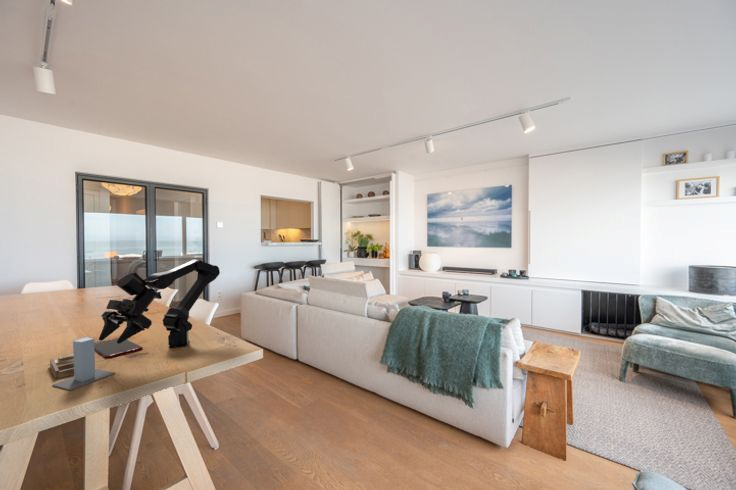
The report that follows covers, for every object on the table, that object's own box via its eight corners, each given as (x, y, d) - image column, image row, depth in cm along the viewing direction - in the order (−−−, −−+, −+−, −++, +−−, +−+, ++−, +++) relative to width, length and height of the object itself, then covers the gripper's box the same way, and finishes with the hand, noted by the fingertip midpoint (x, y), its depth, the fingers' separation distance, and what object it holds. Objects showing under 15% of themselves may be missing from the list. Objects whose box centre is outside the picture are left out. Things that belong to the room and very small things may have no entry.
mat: (97, 369, 106) (97, 368, 106) (114, 373, 103) (114, 372, 103) (52, 385, 95) (52, 384, 95) (70, 390, 92) (70, 389, 92)
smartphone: (122, 336, 140) (144, 346, 125) (122, 339, 140) (144, 350, 126) (86, 344, 130) (105, 356, 116) (86, 347, 130) (105, 360, 116)
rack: (76, 360, 114) (76, 353, 114) (84, 371, 105) (83, 364, 105) (50, 366, 109) (50, 359, 109) (55, 378, 100) (55, 371, 100)
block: (87, 375, 101) (86, 337, 101) (95, 376, 100) (94, 338, 100) (74, 379, 98) (73, 340, 98) (82, 381, 97) (81, 342, 96)
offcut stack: (77, 361, 114) (76, 352, 114) (79, 364, 111) (78, 354, 111) (54, 366, 109) (53, 357, 109) (55, 369, 107) (55, 360, 107)
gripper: (106, 288, 113) (70, 327, 103) (142, 291, 107) (107, 333, 97) (129, 305, 121) (98, 342, 111) (164, 308, 114) (134, 348, 105)
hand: (108, 341), depth 105 cm, fingers open, 9 cm apart
